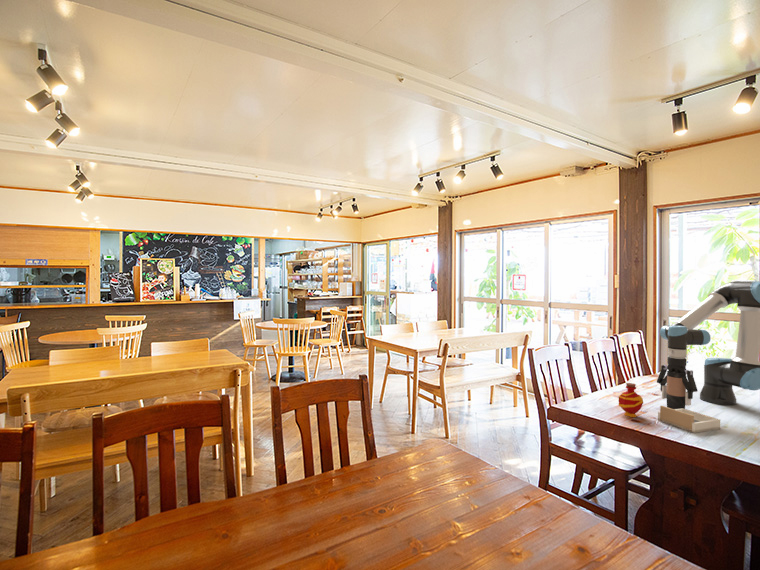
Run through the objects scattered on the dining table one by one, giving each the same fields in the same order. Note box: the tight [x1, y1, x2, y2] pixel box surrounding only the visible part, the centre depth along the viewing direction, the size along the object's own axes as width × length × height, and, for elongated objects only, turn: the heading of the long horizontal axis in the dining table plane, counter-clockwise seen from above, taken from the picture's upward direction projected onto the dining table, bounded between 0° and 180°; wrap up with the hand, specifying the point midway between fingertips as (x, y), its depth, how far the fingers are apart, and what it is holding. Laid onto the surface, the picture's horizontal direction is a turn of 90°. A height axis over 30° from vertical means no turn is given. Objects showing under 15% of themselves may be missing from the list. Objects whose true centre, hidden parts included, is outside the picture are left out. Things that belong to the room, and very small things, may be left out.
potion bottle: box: [618, 382, 644, 418], centre depth 192 cm, size 10×10×15 cm
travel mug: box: [666, 370, 687, 409], centre depth 197 cm, size 8×8×20 cm
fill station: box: [657, 405, 721, 434], centre depth 180 cm, size 16×16×7 cm
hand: (675, 401), depth 197 cm, fingers open, 11 cm apart
